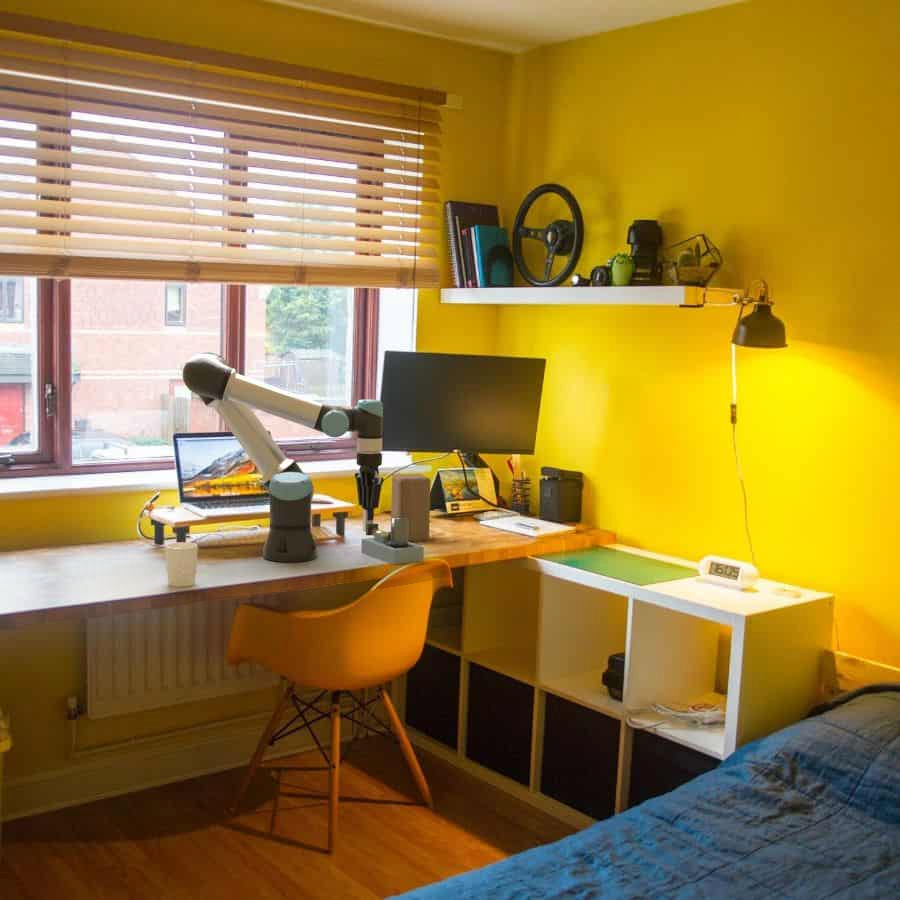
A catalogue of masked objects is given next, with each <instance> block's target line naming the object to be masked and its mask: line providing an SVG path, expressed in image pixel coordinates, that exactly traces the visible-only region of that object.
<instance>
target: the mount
mask: <svg viewBox="0 0 900 900" xmlns="http://www.w3.org/2000/svg"><path fill="white" fill-rule="evenodd" d="M387 532H388V533H390V539H389V540H388V536H387V535H384V534H381V533H375V536H373V537H365V538H361V547H360V548H361V553H362V554H365V555H367V556H370V557H373V558H376V559H377V560H380V561H383V562H385V563H387V564H388V563H389V564H392V565H400V564H407V563H408V564H409V563H417V562H416V561H418V562H421V561H420V560H423V561H424V556H425V555H424V554H425V553H424V552H425V551H424V546H422V545H419V544H416V543H414V542H408V547H406V548H397V549H395V548H392V547H391V531H387Z"/></svg>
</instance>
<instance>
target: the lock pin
mask: <svg viewBox="0 0 900 900" xmlns="http://www.w3.org/2000/svg"><path fill="white" fill-rule="evenodd" d="M388 532H389V531H384V530H381V529H379V523H377V522H375V523H374V522H373V524H366V531H365V536H367V537H369V536H372V537H374V536H375V533H381V534H384V535H387V536H388V540H389V539H390V533H388Z"/></svg>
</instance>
